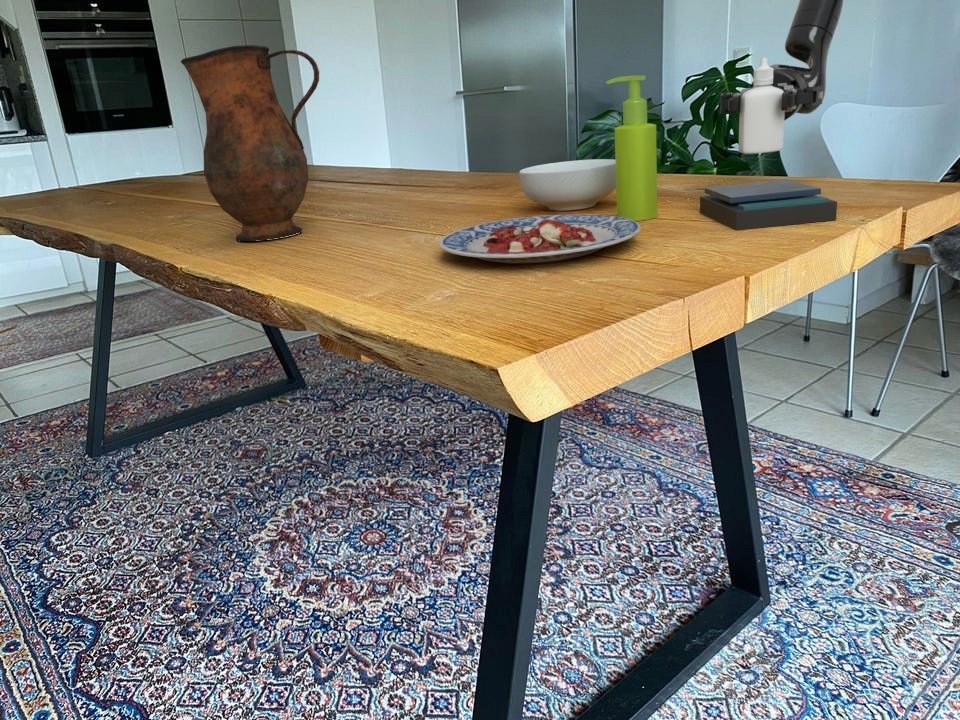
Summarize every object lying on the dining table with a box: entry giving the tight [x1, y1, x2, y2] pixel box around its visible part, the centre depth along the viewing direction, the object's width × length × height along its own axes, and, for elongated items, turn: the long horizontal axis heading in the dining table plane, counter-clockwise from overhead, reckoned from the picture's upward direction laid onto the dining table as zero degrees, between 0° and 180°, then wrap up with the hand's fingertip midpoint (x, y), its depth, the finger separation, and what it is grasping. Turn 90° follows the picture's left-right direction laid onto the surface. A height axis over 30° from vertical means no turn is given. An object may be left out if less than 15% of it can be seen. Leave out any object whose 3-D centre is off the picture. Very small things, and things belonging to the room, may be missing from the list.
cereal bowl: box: [518, 158, 616, 212], centre depth 124 cm, size 17×17×7 cm
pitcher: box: [180, 44, 320, 242], centre depth 122 cm, size 17×21×30 cm
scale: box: [699, 195, 838, 231], centre depth 102 cm, size 13×15×3 cm
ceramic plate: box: [438, 213, 641, 264], centre depth 95 cm, size 26×26×3 cm
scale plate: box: [704, 179, 822, 203], centre depth 102 cm, size 12×11×1 cm
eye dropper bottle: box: [738, 57, 785, 155], centre depth 99 cm, size 4×6×12 cm
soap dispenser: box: [605, 75, 658, 222], centre depth 107 cm, size 6×7×20 cm
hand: (759, 103), depth 97 cm, fingers closed on eye dropper bottle, 5 cm apart
